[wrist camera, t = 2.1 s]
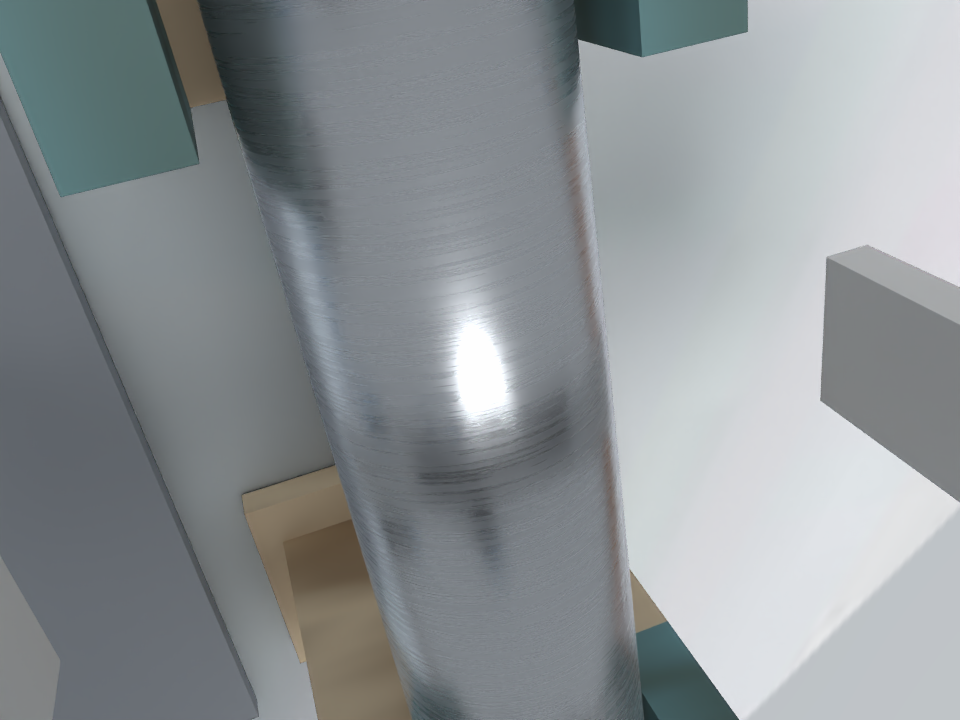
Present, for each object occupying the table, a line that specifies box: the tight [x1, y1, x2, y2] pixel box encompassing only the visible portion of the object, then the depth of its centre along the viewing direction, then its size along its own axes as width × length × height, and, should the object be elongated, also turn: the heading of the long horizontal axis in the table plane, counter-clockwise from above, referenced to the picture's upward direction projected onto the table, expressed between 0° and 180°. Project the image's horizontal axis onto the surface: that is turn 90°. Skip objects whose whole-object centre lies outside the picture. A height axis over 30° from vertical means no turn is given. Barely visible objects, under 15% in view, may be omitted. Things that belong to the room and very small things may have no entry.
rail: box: [197, 0, 644, 720], centre depth 12 cm, size 20×4×4 cm, turn 9°
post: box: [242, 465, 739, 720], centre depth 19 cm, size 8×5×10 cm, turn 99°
